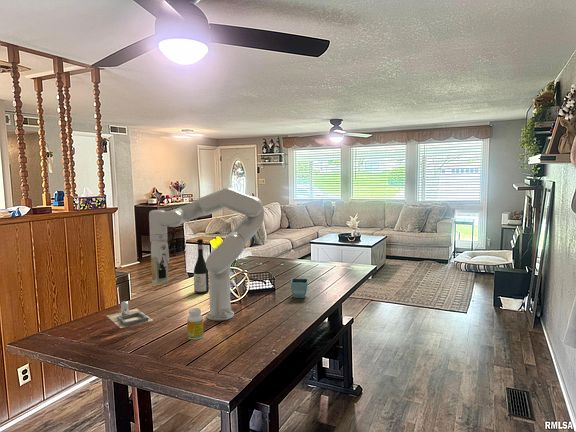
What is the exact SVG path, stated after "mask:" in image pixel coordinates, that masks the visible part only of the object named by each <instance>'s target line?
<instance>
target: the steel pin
mask: <svg viewBox="0 0 576 432" xmlns="http://www.w3.org/2000/svg"><path fill="white" fill-rule="evenodd" d="M120 306H121V307H120V308H121V309H120V311H121V312H122V316H124V315H128V314H129V311H130V309H129V301H128V300H123V301H121V302H120Z"/></svg>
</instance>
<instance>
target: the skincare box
mask: <svg viewBox="0 0 576 432" xmlns="http://www.w3.org/2000/svg"><path fill="white" fill-rule="evenodd" d="M150 263H151V265H150V266H151V280H152V284H154V285H161V284H165V283H169V282H170V280H169V279H170V278H169V262H167V265H166V278H162V279H159V271H158V270H159V263H157V258H155V257H151V256H150ZM161 263H163V261H161ZM162 265H163V264H161V266H162Z"/></svg>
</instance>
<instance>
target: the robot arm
mask: <svg viewBox="0 0 576 432" xmlns="http://www.w3.org/2000/svg"><path fill="white" fill-rule="evenodd" d="M224 209H228V210H230V211H233V212H235V213H238V214H240V215H244V217H243V219H242V220H241V221H240V222H239V224H238V225H236V226H235V228H234V229H232V230H231V231H230V233H228V234H227V235H226V236H225V238H224V239H223V240H222V242H221V243H220V244H219V245H218V246H217V247H216V248H215V249H213V250H212V251H211V252H210V253H209V255H208V256H207V258H206V261H205V263H206V268H207V270H208V274H209V291H208V295H209V296H208V297H209V312H208V311H207V313H206V318H207V319H208V320H210V321H215V322H216V321H217V322H218V321H219V322H220V321H227V320H230V319H232V318H234V316H235V312H234V311H233V310H232V306H231V305H232V304H231V265H232V264H233V263H234V262H235V261H236V260H237V259H238V258H239V256H240V255H242V253H243V252H244V250H245V248H246V245H247V244H248V242H249V241H250V240H251V239H252V238H253V237H254V235H256V233H257V232H258V231H259V230H260V228H261V226H262V224H263V222H264V219H265V210H264V205H263V203H262V201H261V199H260V198H259V197H257V196H250V195H247V194H245V193H242V192H239V191H238V190H236V189H235V188H233V187H231V186H229V187H225V188H222V189H219V190H217V191H214V192H212V193H210V194H207V195H204V196H201V197H199V198H197V199H196V200H194V201H192V202H190V203H187V204H185V205H182V206H180V207H177V208H174V209H172V210H163V209H152V210H150V211H149V213H148V221H149V242H150V258H151V257H155V258H157V263H159V270H158V271H159V279H162V278H166V265H167V262H168V263H169V262H170V252H169V251H170V250H169V245H168V244H169V243H168V227H169V228H176V227H179V226H180V225H183V224H184V223H187V222H189V221H192V220H195V219H198V218H200V217H201V218H202V217H206V216H209V215H212V214H214V213H217V212H220V211H222V210H224ZM161 261H163V263H161ZM161 264H163V265H162V266H161Z"/></svg>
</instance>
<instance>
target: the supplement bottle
mask: <svg viewBox="0 0 576 432" xmlns="http://www.w3.org/2000/svg"><path fill="white" fill-rule="evenodd" d="M186 321H187V322H186V323H187V324H186V325H187V338H188V339H189V340H195V341H196V340H200V339H203V338H204V334H205V333H204V316H203V315H202V310H201V308H199V307H196V308H195V307H193V308H190V309H188V316H187V318H186Z"/></svg>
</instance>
